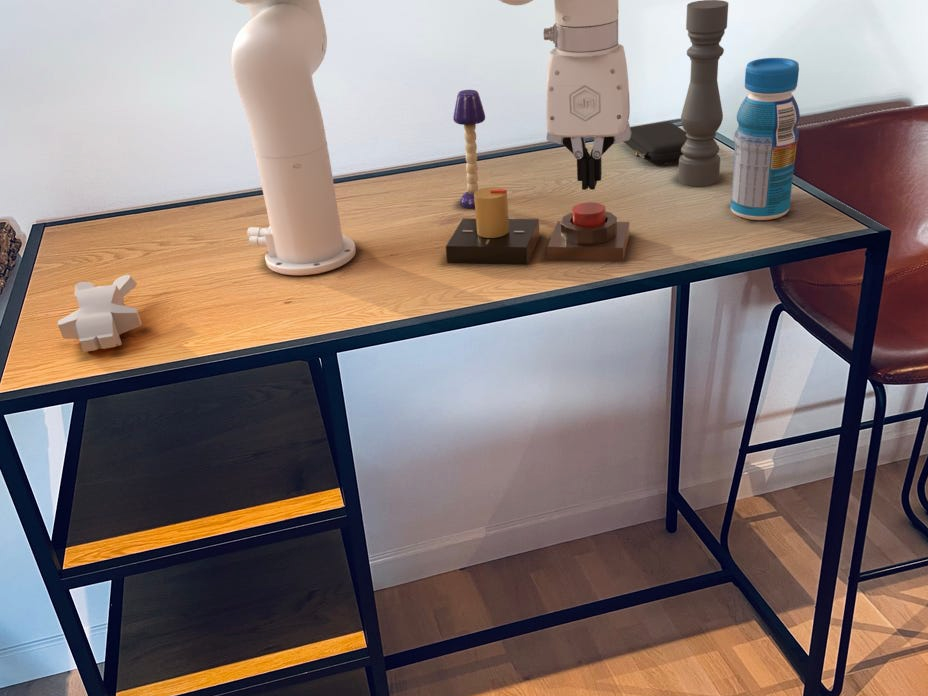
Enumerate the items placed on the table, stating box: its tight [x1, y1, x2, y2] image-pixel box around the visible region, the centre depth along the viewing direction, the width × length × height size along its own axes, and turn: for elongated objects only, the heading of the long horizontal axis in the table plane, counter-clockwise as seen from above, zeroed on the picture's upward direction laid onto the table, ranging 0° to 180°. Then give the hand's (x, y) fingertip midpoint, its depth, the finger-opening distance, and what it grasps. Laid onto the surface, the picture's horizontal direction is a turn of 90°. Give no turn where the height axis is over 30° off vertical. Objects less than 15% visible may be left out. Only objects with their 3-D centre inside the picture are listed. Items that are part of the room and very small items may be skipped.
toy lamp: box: [453, 89, 486, 209], centre depth 146 cm, size 5×5×17 cm
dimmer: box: [445, 217, 541, 266], centre depth 136 cm, size 11×10×3 cm
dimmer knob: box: [474, 186, 510, 238], centre depth 133 cm, size 4×4×6 cm
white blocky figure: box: [57, 274, 142, 353], centre depth 124 cm, size 10×5×15 cm
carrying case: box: [623, 121, 688, 166], centre depth 164 cm, size 11×3×15 cm
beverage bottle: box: [729, 57, 801, 221], centre depth 135 cm, size 8×8×20 cm
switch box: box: [546, 210, 630, 263], centre depth 133 cm, size 10×9×4 cm
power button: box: [571, 201, 606, 227], centre depth 132 cm, size 4×4×2 cm
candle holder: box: [677, 0, 729, 187], centre depth 145 cm, size 6×6×25 cm
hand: (589, 185), depth 129 cm, fingers closed
